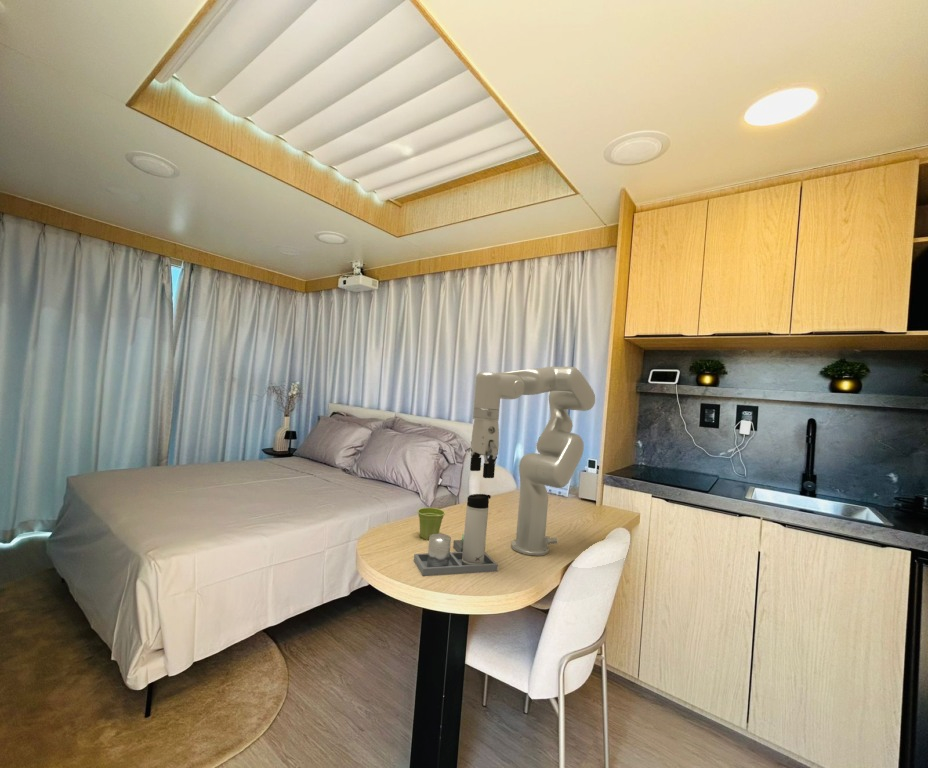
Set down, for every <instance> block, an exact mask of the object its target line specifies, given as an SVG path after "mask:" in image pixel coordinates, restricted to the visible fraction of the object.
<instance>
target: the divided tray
mask: <svg viewBox="0 0 928 768" xmlns="http://www.w3.org/2000/svg"><path fill="white" fill-rule="evenodd" d="M427 558H428V552H427V553H414V555H413V562H414V563H415V565H416V567H417V569H418V571H419V572H420V574H421V576H422V577H430V576H431V577H432V576H434V577H435V576H445V575H446V576H447V575H463V574H476V573H479V574H480V573H493V572H498V567H499V564H498V563H497V562H496V561H495V560H494V559H493V558H491V556H490V555H488V553H487V552H485V553H484V564H478V565H462V552H456V551H453V552H452V551H450V556H449V566H443V567H427Z"/></svg>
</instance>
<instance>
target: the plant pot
mask: <svg viewBox="0 0 928 768" xmlns="http://www.w3.org/2000/svg"><path fill="white" fill-rule="evenodd" d="M417 514H418V519H419V537H420V538H422V539H423V540H427V541H429V537H430V535H432V534H440V529H441V525H442V522H443V519H444V516H445V515H446V511H444V510H443V509H440V508H436V507H422V508H419V509H417Z"/></svg>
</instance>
